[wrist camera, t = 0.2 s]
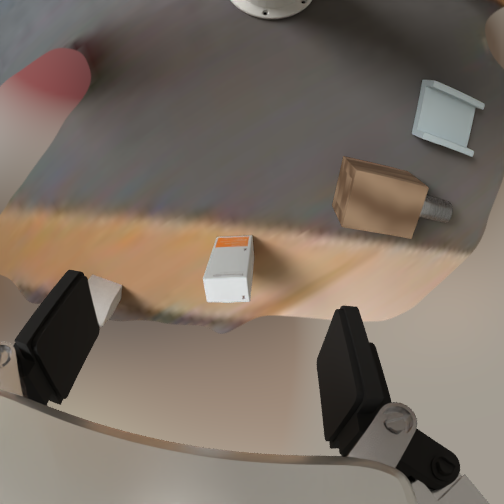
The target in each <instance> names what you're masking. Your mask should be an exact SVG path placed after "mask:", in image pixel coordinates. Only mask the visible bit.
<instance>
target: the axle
mask: <svg viewBox="0 0 504 504" xmlns="http://www.w3.org/2000/svg"><path fill="white" fill-rule="evenodd" d="M451 216H452V204H451V203H450V202H449V201H447V200H443V199H439V198H436V197H432V196H428V195H426V198H425V201H424V204H423V207H422V210H421V213H420V216H419V217H421V218H426V219H430V220H434V221H439V222H443V223H447V222H448V221H449V220H450V218H451Z"/></svg>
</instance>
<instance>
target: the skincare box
mask: <svg viewBox="0 0 504 504" xmlns="http://www.w3.org/2000/svg"><path fill="white" fill-rule="evenodd" d="M253 266H254V247H253V236H252V235H249V236H228V237H217V238H216V241H215V244H214V247H213V250H212V253H211V256H210V259H209V262H208V265H207V268H206V271H205V274H204V277H203V282H204V287H205V293H206V298H207V302H223V303H232V302H250V297H251V286H252V276H253Z"/></svg>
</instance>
